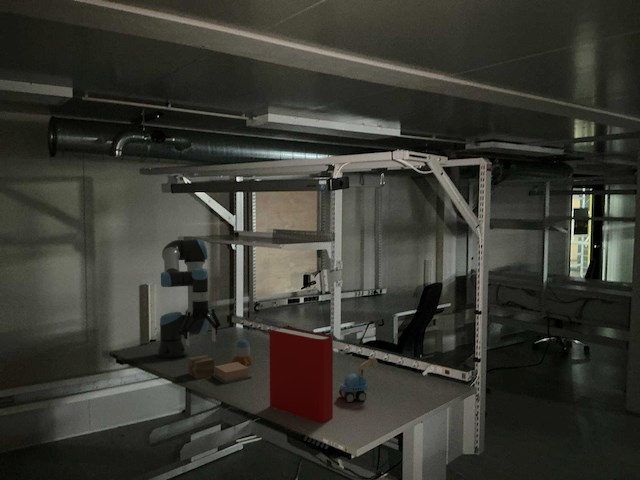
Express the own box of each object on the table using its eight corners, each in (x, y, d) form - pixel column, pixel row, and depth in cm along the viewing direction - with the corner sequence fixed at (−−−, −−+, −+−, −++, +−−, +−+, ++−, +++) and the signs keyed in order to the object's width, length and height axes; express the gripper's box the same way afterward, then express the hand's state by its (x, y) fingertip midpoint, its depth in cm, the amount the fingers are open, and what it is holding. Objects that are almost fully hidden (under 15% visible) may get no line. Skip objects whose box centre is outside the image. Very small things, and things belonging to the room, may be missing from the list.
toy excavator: (381, 399, 215) (381, 359, 214) (344, 403, 210) (344, 363, 210) (373, 392, 223) (373, 354, 223) (337, 396, 219) (337, 357, 218)
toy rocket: (250, 371, 256) (243, 344, 254) (230, 374, 259) (223, 346, 256) (256, 362, 266) (249, 336, 264) (237, 365, 269) (230, 338, 266)
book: (269, 406, 208) (269, 329, 206) (283, 400, 214) (282, 326, 212) (321, 423, 190) (321, 339, 189) (334, 417, 197) (334, 335, 195)
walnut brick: (188, 373, 250) (188, 357, 250) (205, 370, 256) (205, 354, 255) (196, 379, 242) (196, 362, 242) (214, 375, 248) (213, 359, 247)
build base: (212, 376, 246) (211, 366, 246) (237, 370, 255) (237, 361, 254) (225, 384, 235) (224, 373, 235) (251, 378, 243) (251, 367, 243)
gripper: (178, 304, 237) (179, 348, 238) (226, 298, 252) (227, 340, 253) (172, 301, 243) (173, 345, 244) (220, 296, 258) (220, 338, 259)
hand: (200, 343), depth 248 cm, fingers open, 13 cm apart
